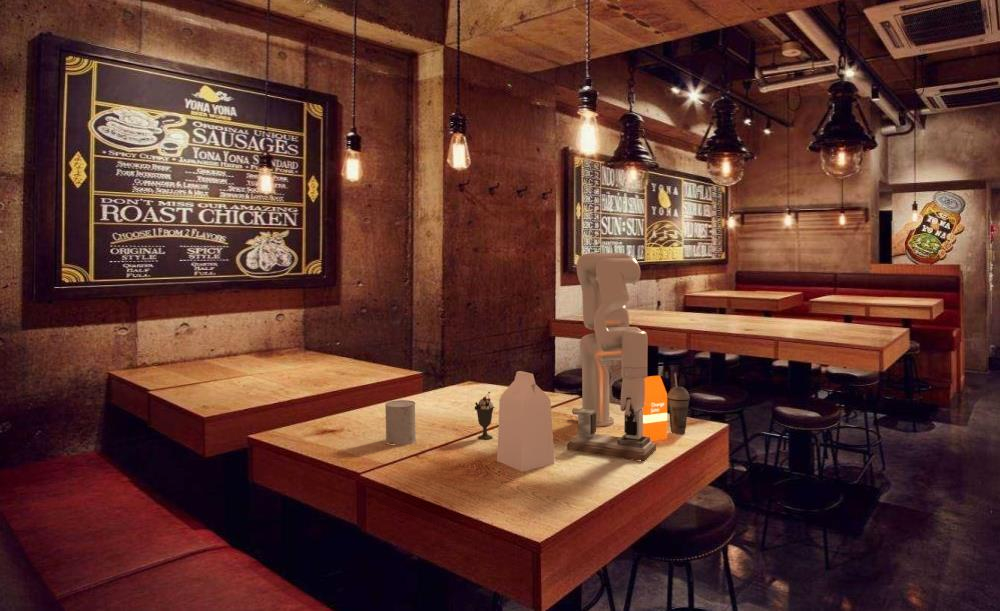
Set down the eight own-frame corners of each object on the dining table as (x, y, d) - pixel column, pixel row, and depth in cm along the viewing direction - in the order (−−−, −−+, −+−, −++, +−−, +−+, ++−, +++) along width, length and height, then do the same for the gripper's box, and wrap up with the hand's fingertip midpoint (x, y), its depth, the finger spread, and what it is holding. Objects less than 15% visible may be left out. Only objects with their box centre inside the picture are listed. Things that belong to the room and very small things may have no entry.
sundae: (498, 435, 210) (497, 390, 208) (491, 441, 203) (490, 395, 202) (479, 434, 212) (478, 389, 211) (471, 439, 205) (471, 393, 204)
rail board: (566, 450, 193) (566, 413, 192) (581, 440, 204) (581, 405, 203) (644, 461, 182) (644, 423, 181) (655, 450, 192) (656, 414, 191)
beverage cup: (690, 436, 207) (691, 375, 206) (667, 435, 209) (668, 374, 207) (688, 430, 214) (689, 371, 213) (666, 429, 216) (666, 371, 214)
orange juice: (630, 435, 208) (630, 375, 207) (652, 432, 212) (653, 373, 210) (644, 442, 201) (645, 379, 199) (667, 438, 204) (668, 377, 203)
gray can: (391, 447, 198) (390, 408, 197) (382, 439, 206) (381, 402, 205) (420, 442, 202) (419, 404, 201) (410, 435, 211) (409, 399, 210)
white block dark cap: (623, 437, 188) (624, 410, 188) (628, 434, 192) (628, 408, 191) (638, 439, 186) (639, 412, 186) (642, 436, 190) (643, 409, 189)
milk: (554, 463, 181) (554, 373, 179) (522, 471, 174) (521, 378, 172) (528, 453, 191) (527, 367, 189) (497, 460, 184) (496, 371, 182)
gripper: (630, 366, 197) (630, 424, 198) (612, 375, 182) (612, 438, 183) (654, 368, 193) (654, 427, 194) (638, 378, 178) (637, 441, 180)
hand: (633, 432), depth 189 cm, fingers closed on white block dark cap, 4 cm apart
